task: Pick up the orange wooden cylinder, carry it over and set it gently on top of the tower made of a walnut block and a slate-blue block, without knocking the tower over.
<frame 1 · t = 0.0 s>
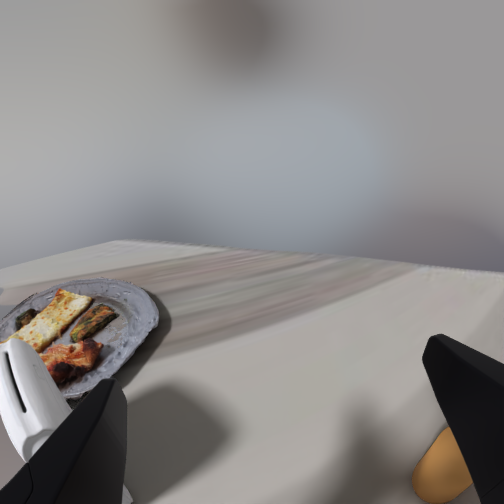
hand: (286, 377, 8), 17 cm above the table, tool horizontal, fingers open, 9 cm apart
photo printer: (90, 473, 18), on the table
food plate: (67, 341, 33), on the table
orange cylinder: (439, 477, 16), on the table
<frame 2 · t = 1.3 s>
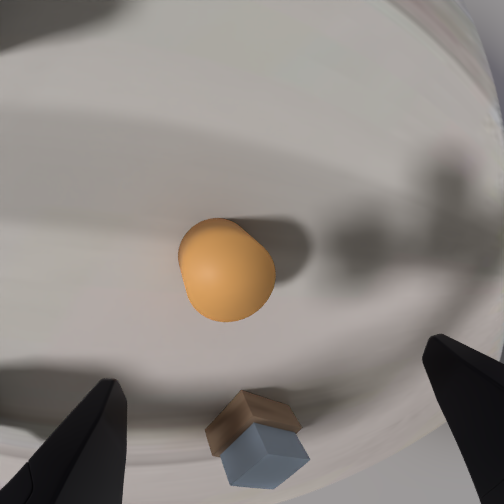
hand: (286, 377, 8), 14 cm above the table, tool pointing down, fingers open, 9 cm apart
slate top block: (257, 444, 24), point 3 cm above the table, touching walnut base block
orange cylinder: (215, 254, 21), on the table
walnut base block: (246, 416, 27), on the table, touching slate top block
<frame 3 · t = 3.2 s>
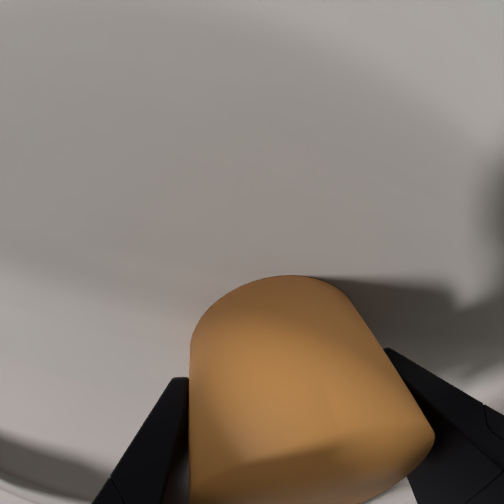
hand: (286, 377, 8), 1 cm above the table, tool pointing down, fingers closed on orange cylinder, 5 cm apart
orange cylinder: (278, 351, 9), on the table, touching gripper
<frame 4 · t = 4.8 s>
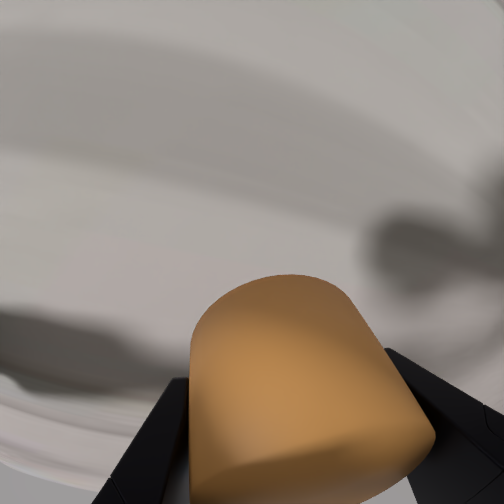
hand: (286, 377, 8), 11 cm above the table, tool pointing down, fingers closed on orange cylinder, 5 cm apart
orange cylinder: (278, 350, 9), point 10 cm above the table, touching gripper
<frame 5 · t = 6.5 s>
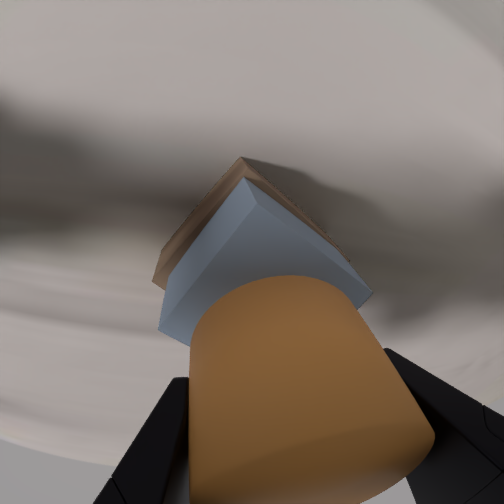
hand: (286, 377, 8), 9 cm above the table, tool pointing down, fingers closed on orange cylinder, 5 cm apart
slate top block: (254, 262, 13), point 3 cm above the table, touching walnut base block
orange cylinder: (278, 351, 9), point 8 cm above the table, touching gripper
walnut base block: (244, 239, 16), on the table, touching slate top block
when the fingers open (9 cm above the table, at t = 6.6 s): orange cylinder drops 1 cm, resting on slate top block.
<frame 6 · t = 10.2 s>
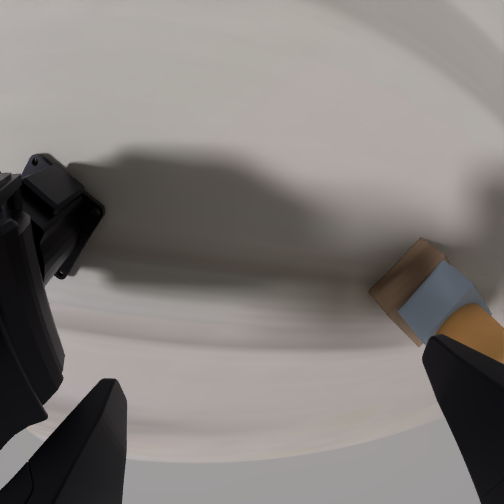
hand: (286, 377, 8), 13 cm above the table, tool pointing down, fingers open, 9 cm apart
slate top block: (434, 300, 21), point 3 cm above the table, touching orange cylinder, walnut base block
orange cylinder: (457, 333, 18), point 7 cm above the table, touching slate top block
walnut base block: (410, 283, 24), on the table, touching slate top block
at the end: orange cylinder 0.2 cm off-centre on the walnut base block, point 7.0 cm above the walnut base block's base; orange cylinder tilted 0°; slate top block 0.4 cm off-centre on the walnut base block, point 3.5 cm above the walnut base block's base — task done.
